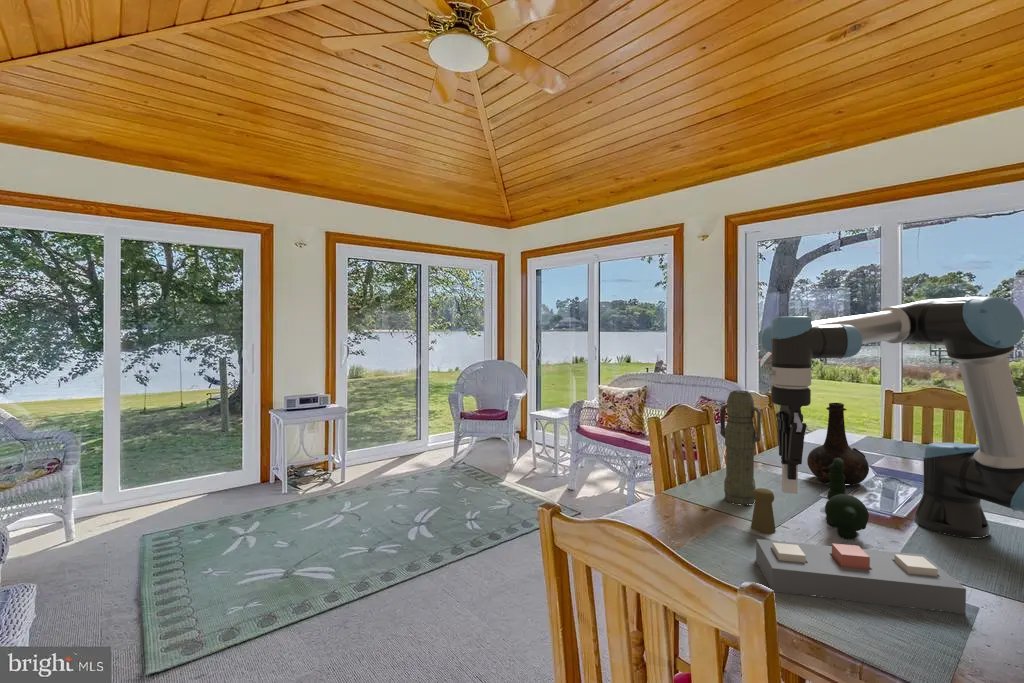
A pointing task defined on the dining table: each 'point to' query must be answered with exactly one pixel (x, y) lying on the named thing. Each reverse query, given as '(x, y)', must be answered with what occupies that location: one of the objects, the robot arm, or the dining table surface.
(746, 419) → the thermos
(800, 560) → the far key
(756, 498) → the cork
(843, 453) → the glass bottle
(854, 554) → the middle key
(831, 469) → the toy figurine
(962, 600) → the key panel
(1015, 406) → the robot arm
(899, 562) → the near key
